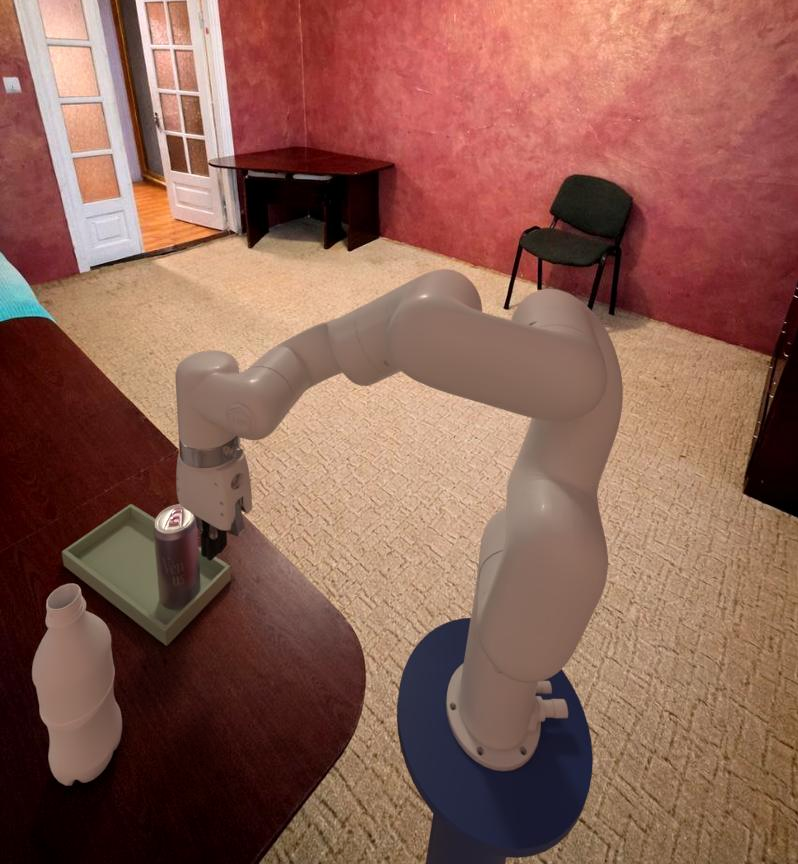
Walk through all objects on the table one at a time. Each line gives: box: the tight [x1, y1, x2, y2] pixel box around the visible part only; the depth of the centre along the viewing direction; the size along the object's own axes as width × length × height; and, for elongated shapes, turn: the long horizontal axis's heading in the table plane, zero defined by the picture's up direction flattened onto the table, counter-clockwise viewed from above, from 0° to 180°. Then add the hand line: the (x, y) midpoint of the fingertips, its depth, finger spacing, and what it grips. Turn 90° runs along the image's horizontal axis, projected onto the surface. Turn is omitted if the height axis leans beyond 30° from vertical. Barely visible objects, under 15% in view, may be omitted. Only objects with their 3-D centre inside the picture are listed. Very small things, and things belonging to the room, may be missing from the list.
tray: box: [61, 503, 232, 647], centre depth 79 cm, size 25×12×3 cm, turn 62°
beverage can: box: [153, 503, 201, 610], centre depth 74 cm, size 6×6×15 cm
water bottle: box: [31, 583, 123, 787], centre depth 54 cm, size 7×7×25 cm
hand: (214, 550), depth 69 cm, fingers closed
